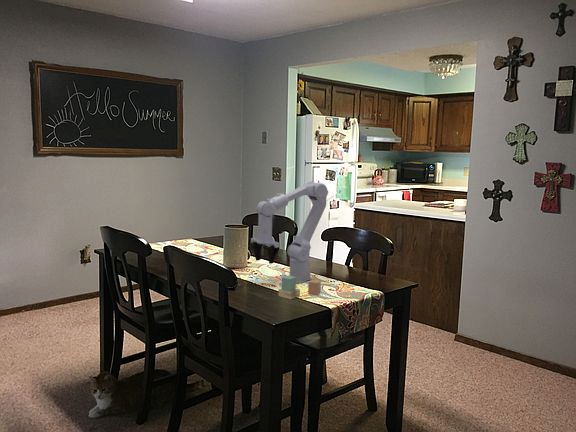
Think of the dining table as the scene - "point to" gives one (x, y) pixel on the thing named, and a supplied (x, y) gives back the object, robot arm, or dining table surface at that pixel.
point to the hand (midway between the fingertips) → (264, 261)
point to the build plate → (235, 286)
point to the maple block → (289, 293)
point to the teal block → (288, 283)
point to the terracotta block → (314, 287)
